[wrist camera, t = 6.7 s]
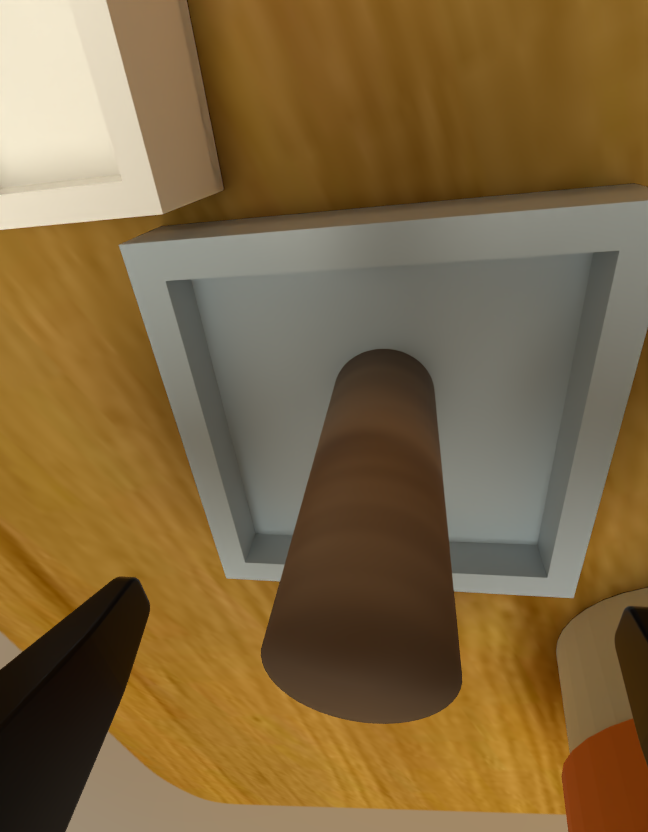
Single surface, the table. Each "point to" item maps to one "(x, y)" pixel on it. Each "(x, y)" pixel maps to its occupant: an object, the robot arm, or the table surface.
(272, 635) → the dowel
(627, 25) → the table surface
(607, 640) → the reusable coffee cup
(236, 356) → the tray
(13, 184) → the white open box
